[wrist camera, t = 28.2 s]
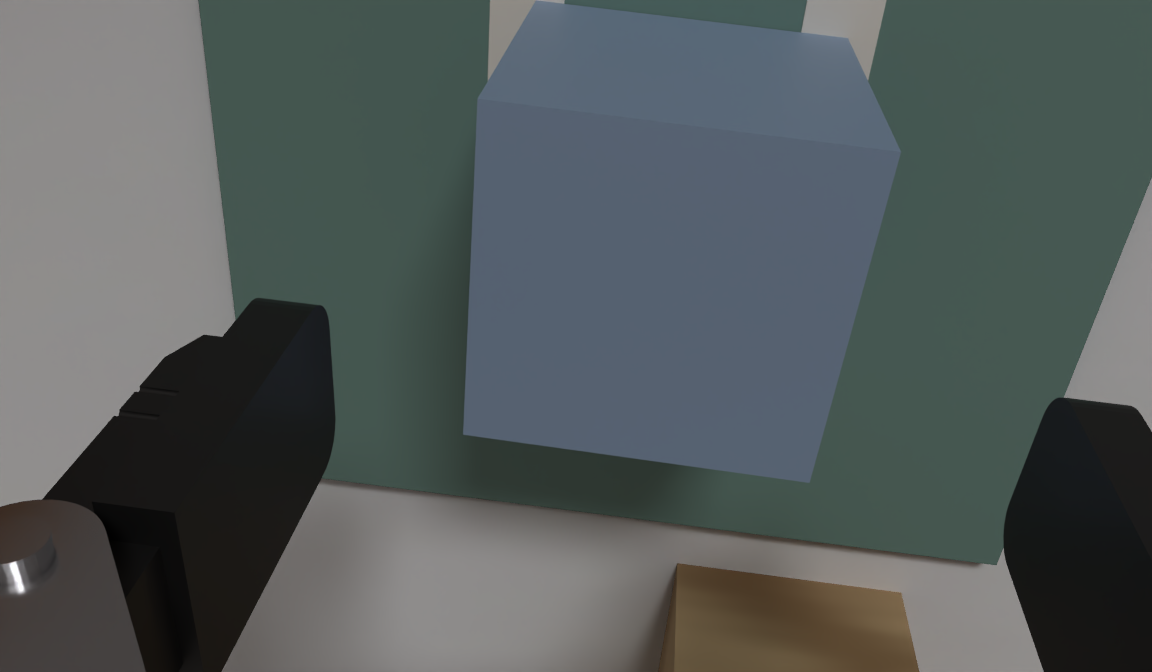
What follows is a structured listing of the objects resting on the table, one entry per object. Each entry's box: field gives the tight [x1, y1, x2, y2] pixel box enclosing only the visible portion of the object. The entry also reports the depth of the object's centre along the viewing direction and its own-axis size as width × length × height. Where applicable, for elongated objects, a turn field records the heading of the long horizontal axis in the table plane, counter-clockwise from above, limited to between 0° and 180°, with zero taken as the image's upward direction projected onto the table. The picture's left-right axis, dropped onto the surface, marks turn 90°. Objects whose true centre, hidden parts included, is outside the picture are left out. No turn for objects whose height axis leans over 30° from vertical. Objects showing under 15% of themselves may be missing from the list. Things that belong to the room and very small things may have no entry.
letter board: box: [198, 0, 1152, 565], centre depth 18 cm, size 16×16×1 cm
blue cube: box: [463, 0, 901, 483], centre depth 15 cm, size 5×5×5 cm
